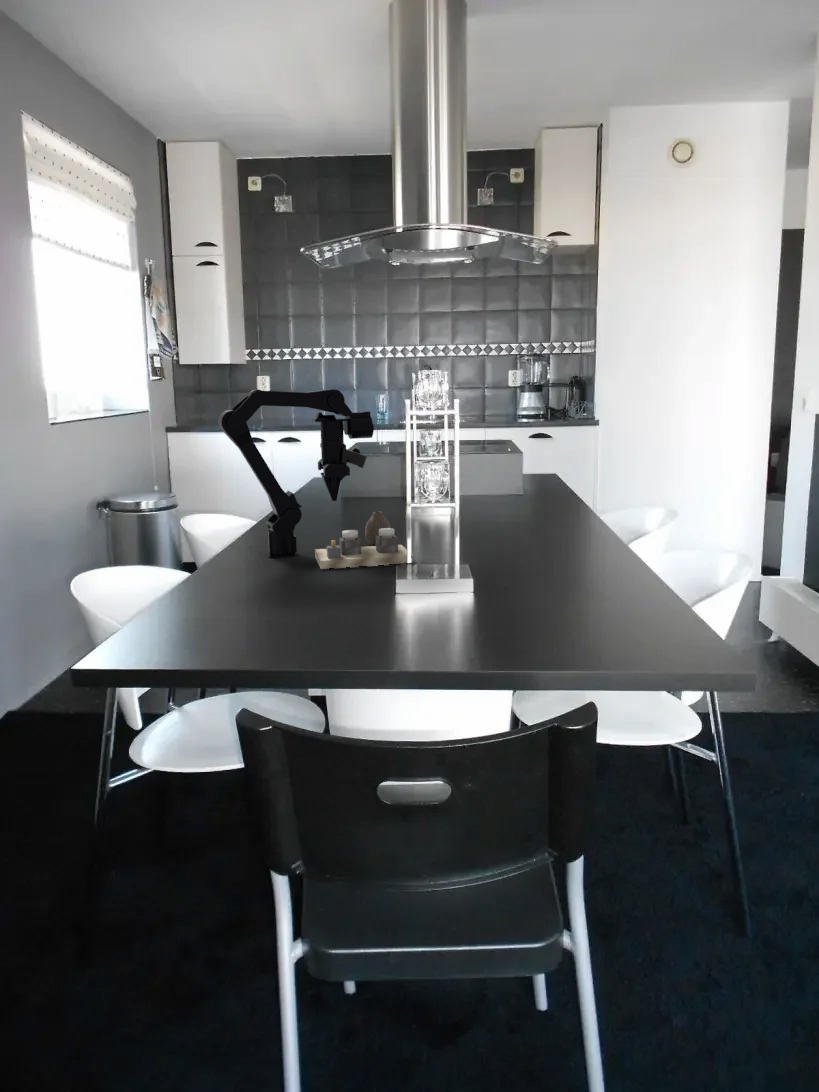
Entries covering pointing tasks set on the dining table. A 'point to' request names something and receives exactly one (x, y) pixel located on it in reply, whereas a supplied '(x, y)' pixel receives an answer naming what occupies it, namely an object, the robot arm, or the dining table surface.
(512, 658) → the dining table surface
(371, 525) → the vase
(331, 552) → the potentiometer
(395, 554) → the mount board
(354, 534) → the knob
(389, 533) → the knob
